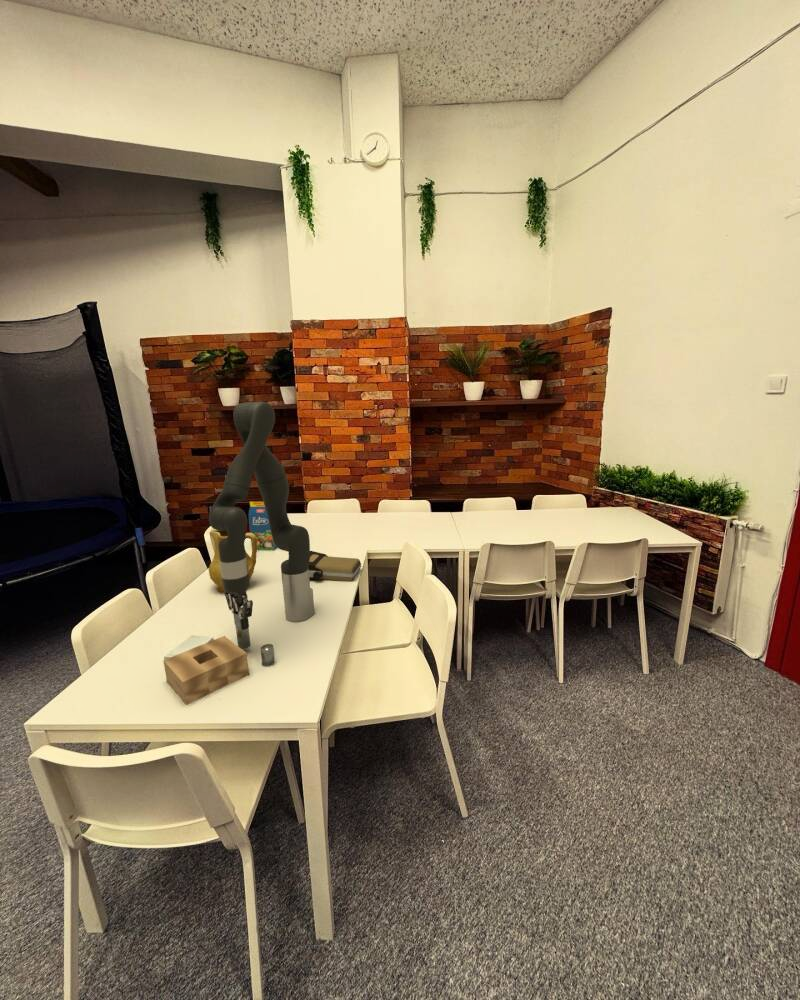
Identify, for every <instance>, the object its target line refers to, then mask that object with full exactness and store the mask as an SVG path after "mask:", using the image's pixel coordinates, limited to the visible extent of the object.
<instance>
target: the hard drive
mask: <svg viewBox="0 0 800 1000" xmlns="http://www.w3.org/2000/svg"><path fill="white" fill-rule="evenodd" d="M213 640H215V639H214V637H213V636H206V635H205V636H203V635H194V634H191V635H189V637H187V638H186V639H184V641H182V642H181V643H179V644H178V645H177V646H176V647H175V648H173V649H172V650H171V651H170V652H169V653H167V654H166V655H165V656H164V657H163V660H165V659H168V658H170V657H173V656H175V655H178V654H180V653H183V652H185V651H188V650H190V649H193V648H195V647H198V646H200V645H203V644H205V643H208V642H210V641H213Z"/></svg>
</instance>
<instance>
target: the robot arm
mask: <svg viewBox="0 0 800 1000" xmlns="http://www.w3.org/2000/svg"><path fill="white" fill-rule="evenodd" d="M232 414H233V416H232V417H233V423H234V427H235V428H236V431H237V433H238V435H239V438H240V440H241V442H242V443H243V444H242V445H243V446H242V448H241V449H240V451H239V452H238V454H237V455H236V457H234V459H233V461H232V462H231V463H230V465H229V467H228V470H227V473H226V476H225V479H224V482H223V486H222V489H221V491H220V493H219V494H218V495H217V497H216V499H215V501H214V503H213V504H212V506H211V508H210V510H209V515H208V521H209V522H208V523H209V525H210V526H211V528H212V529H214V530H220V531H227V532H228V537H227V538H225V539H223V540H221V541H220V542H219V545H218V548H219V556H220V570H221V577H222V584H223V590H224V593H223V594H224V597H225V600H226V604H227V607H228V609H229V611H231V614H232V615H233V616H234V613H235V612H238V613H239V617H240V624H241V629H242V630H245V629H247V628H249V629H250V622H249V618H250V617H252V614H253V604H254V602H253V600H252V599H250V600H248V599H249V598H248V593H247V590H248V589H249V587H250V586H251V582H250V580H251V578H250V579H249V571H248V563H247V560H246V554H245V551H246V547H245V541H246V539H245V536H246V533H247V528H248V517H247V514H246V513H245V510H243V509H242V508H240V507H235V505H236V504H237V503H238V502H241V501H244V500H246V499H247V498H248V495H249V492H250V487H251V484H252V480H253V477H255V480H256V483H257V487H258V490H259V493H260V496H261V498H262V502H264V505H265V508H266V511H267V515H268V519H269V523H270V528H271V533H272V538H273V541H274V544H275V545H276V547H277V548H276V549H279V550H281V551H284V552H288V558H287V559H286V560H284V561H283V562H282V563H281V564H280V571H281V582H282V592H283V604H284V614H285V619H286V620H287V621H289V622H295V623H297V622H298V623H299V622H303V621H307V620H309V618H311V617H312V615H314V614H315V602H314V590H313V588H312V587H311V581H310V580H309V567H308V565H309V561H310V551H311V548H310V547H311V542H310V541H311V540H310V535H309V531H308V529H307V528H306V527H304V526H302V525H297V524H292V523H291V521H290V519H289V515H288V512H287V502H288V498H289V493H290V486H289V485H290V484H289V481H288V477H287V475H286V471H285V469H284V467H283V465H282V464H281V462H280V461H279V459H277V457H276V456H275V455H274V454H273V453H272V451H271V450H270V449H269V448H268V447H267V445H266V444H267V442H268V439H270V436H271V433H272V431H273V428H274V425H275V422H276V412H275V410H274V408H273V406H272V405H271V403H268V402H265V401H248V402H246V401H245V402H240V403H238V404H236V405H235V407H234V409H233V413H232ZM233 621H234V622H233V623H235V619H234V618H233Z"/></svg>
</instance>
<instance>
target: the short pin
mask: <svg viewBox="0 0 800 1000" xmlns="http://www.w3.org/2000/svg"><path fill="white" fill-rule="evenodd" d="M260 657H261V665H262V666H263V667H271V666H274V664H275V663H276V660H275V659H276V658H275V650H274V644H272V643H266V644H263V645H262V646H261V647H260Z"/></svg>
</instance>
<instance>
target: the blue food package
mask: <svg viewBox="0 0 800 1000" xmlns="http://www.w3.org/2000/svg"><path fill="white" fill-rule="evenodd" d="M248 524H249V525H248V527H249V533H253V534H255V535H256V538H257V551H275V550H276V549H278V548H277V547H276V545H275V544H274V541H273V538H272V533H271V528H270V523H269V519H268V515H267V511H266V508H265V505H264V502H263V501H249V509H248ZM250 542H251V544H250V545H251V546H252V541H251V540H250Z"/></svg>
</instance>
